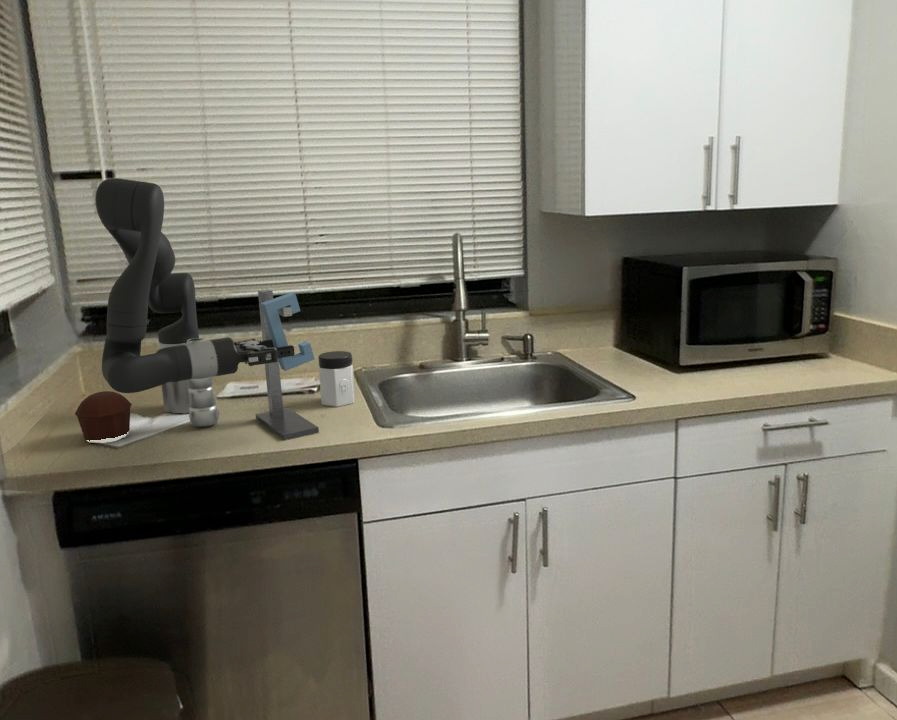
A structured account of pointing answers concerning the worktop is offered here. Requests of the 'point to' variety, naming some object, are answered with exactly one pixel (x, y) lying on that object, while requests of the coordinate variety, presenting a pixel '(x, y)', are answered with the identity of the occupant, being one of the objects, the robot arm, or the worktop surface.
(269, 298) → the stand
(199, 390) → the plastic bottle
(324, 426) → the worktop surface
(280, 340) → the c link
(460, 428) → the worktop surface
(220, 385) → the worktop surface
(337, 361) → the jar
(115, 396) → the muffin
